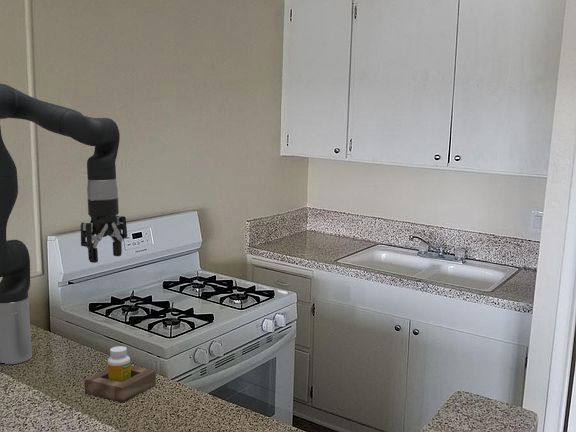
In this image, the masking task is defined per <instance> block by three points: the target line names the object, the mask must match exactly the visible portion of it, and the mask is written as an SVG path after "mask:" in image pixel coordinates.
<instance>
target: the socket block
mask: <svg viewBox="0 0 576 432" xmlns="http://www.w3.org/2000/svg"><path fill="white" fill-rule="evenodd" d="M156 374H157V373H156V370H153V369H148V368H144V367H139V366H134V365H131V378H129V379H127V380H125V381H123V382H117V381H113V380H109V378H108V367H107V368H105V369H103V370H101V371H98V372H96V373H94V374H92V375H90V376H87V377H85V378H84V380H83V381H84V394H87V395H90V396H95V397H98V398H102V399H106V400H111V401H113V402H114V401H115V402H119V403H125V402H127V401H129V400H131V399H132V398H134V397H136V396H138V395H140V394H141V393H143V392H145V391H147V390H149V389H151V388H152V387H154V386H156V385H157V381H156V379H157V375H156Z"/></svg>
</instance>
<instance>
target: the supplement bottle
mask: <svg viewBox="0 0 576 432" xmlns="http://www.w3.org/2000/svg"><path fill="white" fill-rule="evenodd" d="M109 354H110V356H109V357H108V359H107V368H108V378H109V380H113V381H117V382H123V381H125V380H127V379H129V378H131V366H132V365H131V364H132V363H131V358H130V357H131V356H129V355H127V354H128V348H127V347H126V346H121V345H120V346H113V347H111V348H110V349H109Z"/></svg>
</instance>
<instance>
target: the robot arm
mask: <svg viewBox="0 0 576 432" xmlns="http://www.w3.org/2000/svg"><path fill="white" fill-rule="evenodd" d="M2 119H3V120H4V119H15V120H16V119H18V120H25V121H28V122H31V123H34V124H36V125H37V126H39V127H40V128H42V129H43V130H46V131H48V132H51V133H54V134H56V135H57V134H58V135H61V136H64V137H68V138H71V139H72V140H74V141H76V142H79V143H80V144H83V145H86V146H89V147H94V151H93V154H92V155H91V156H90V157H89V158H88V159H87V161H86V170H87V174H86V175H87V176H86V177H87V185H86V186H87V187H86V193H87V197H86V198H87V212H88V213H87V214H88V216H89V217H90V222H81V223H80V246H81V247H85V248H87V254H88V260H89V262H90V263H91V264H92V263H93V264H95V263H98V262H99V254H98V248H97V247H98V245H99V242H101V241H102V239H103V238H106V237H107V236H109V237H110V238H111V240H112V254H113V256H114V257H121V256H122V253H123V252H122V250H123V249H122V246H123V245H122V242H123V240H124V239H127V238H128V230H127V229H128V228H127V227H128V226H127V218H126V216H124V215H123V216H121V215H119V213H120V212H119V190H118V189H119V188H118V183H117V171H116V170H117V169H116V167H117V166H116V162H117V156H118V153H119V146H120V140H121V139H120V138H121V137H120V135H121V134H120V129H119V126H118V124H117V123H116V122H115V121H114V119H112V118H110V117H109V118H108V117H92V116H91V117H90V116H87V115H84V114H83V113H82V112H80V111H78V110H77V109H73V108H68V107H65V106H62V105H58V104H54V103H51V102H47V101H43V100H41V99H38V98H35V97H33V96H30V95H28V94H26V93H24V92H23V91H21V90H18V89H17V88H15V87H13V86H10V85H8V84H5V83H0V120H2ZM1 128H2V127H1V126H0V278H1V280H0V362H1V363H5V364H4V365H16V364H21V363H24V362H27V361H29V360H31V359H32V358H33V349H32V335H31V334H32V332H31V319H30V318H31V317H30V307H29V305H30V303H29V290H30V288H31V256H30V253H29V249H28V247H27V246H26V244H25V243H24V242H23V241H21V240H19V239H10V240H7V226H8V222H9V218H10V215H11V213H12V211H13V209H14V207H15V204H16V201H17V198H18V194H19V182H18V169H17V166H16V164H15V161H14V159H13V157H12V155H11V153H10V152H9V150H8V148H7V147H6V145H5V143H4V140H3V136H2V131H1Z"/></svg>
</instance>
